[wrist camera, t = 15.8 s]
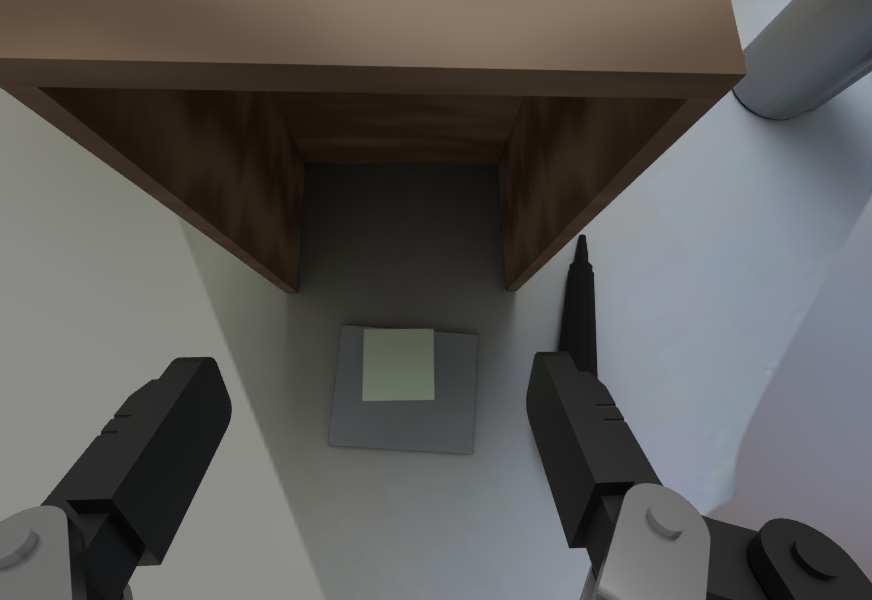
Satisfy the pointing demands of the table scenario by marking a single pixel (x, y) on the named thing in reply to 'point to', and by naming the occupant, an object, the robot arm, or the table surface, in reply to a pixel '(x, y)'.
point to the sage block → (398, 364)
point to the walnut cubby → (371, 101)
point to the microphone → (580, 313)
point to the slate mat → (407, 401)
